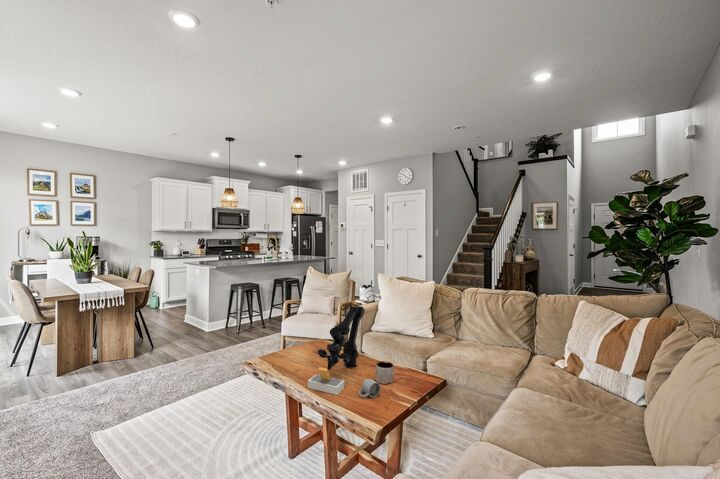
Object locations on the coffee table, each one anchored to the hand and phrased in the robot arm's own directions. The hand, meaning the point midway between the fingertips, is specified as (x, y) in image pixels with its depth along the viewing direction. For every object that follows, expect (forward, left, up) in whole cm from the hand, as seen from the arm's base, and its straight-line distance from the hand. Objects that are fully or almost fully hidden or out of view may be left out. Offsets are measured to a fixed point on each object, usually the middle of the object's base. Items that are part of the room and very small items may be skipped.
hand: (328, 370), depth 185 cm
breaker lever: (+2, +2, -5) cm, 5 cm away
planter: (-34, +2, -9) cm, 35 cm away
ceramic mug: (-18, +16, -9) cm, 26 cm away
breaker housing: (+2, +2, -9) cm, 9 cm away
